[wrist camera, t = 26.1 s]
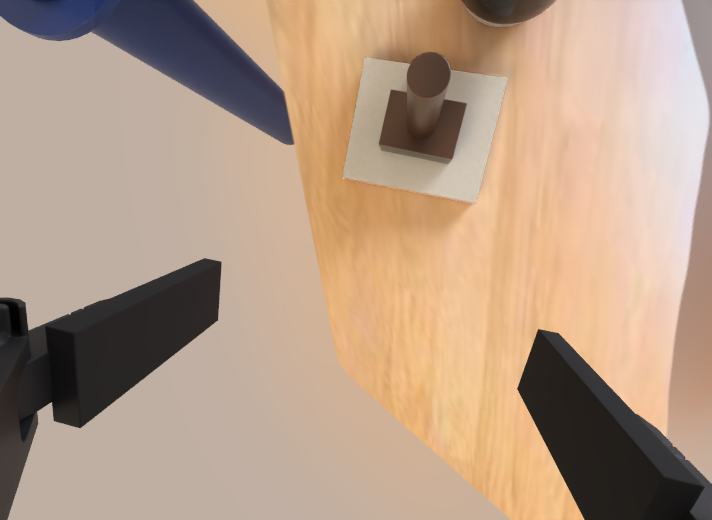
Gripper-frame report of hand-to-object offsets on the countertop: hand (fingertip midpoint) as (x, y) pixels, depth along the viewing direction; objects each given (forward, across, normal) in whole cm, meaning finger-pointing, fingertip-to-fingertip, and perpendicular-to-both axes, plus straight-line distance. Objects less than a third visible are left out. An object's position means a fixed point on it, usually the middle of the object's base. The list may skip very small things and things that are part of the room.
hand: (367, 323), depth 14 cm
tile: (+26, +1, +10) cm, 28 cm away
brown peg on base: (+24, +1, +10) cm, 26 cm away
